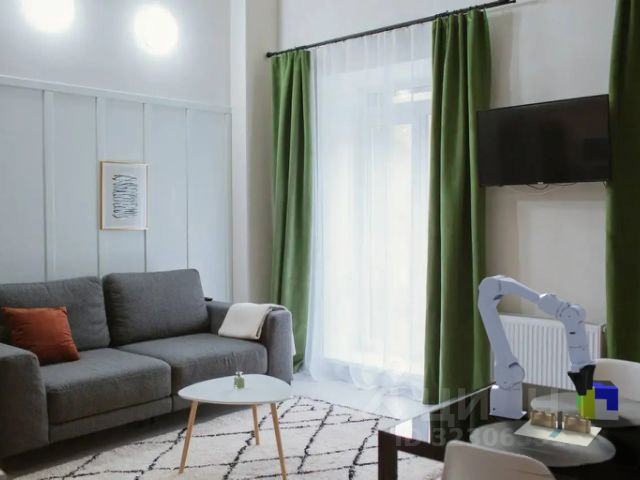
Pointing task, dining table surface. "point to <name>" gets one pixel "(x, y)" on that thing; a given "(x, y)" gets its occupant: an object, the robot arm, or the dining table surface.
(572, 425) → the fence panel
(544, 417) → the fence fixed panel
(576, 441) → the mat
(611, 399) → the puzzle toy
